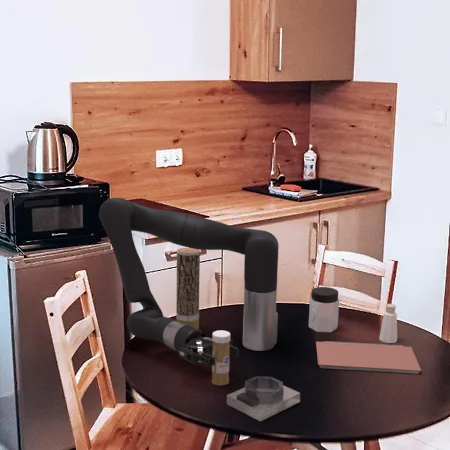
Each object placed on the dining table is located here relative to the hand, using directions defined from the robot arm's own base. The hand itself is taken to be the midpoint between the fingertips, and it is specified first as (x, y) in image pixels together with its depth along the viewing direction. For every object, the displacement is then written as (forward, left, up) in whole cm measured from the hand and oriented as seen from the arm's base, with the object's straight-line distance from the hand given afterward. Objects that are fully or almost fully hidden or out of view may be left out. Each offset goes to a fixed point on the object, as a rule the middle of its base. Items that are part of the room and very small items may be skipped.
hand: (226, 357), depth 176 cm
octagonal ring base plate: (0, +13, -7) cm, 15 cm away
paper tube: (-17, -34, -8) cm, 39 cm away
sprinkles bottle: (0, -2, -8) cm, 8 cm away
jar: (-50, -8, -8) cm, 51 cm away
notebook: (-41, +14, -8) cm, 44 cm away
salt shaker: (-57, +11, -8) cm, 59 cm away
